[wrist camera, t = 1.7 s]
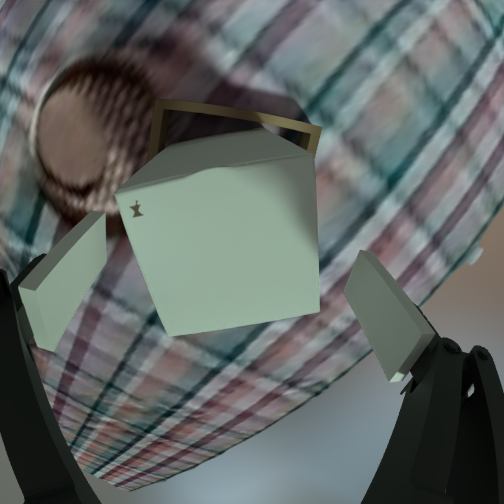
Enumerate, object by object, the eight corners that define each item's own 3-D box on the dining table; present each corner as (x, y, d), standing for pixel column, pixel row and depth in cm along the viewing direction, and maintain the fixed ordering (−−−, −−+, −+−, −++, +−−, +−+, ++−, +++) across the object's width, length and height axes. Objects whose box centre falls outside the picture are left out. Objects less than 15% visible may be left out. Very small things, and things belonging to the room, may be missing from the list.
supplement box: (188, 232, 29) (163, 342, 16) (167, 143, 24) (105, 189, 11) (278, 216, 29) (323, 317, 16) (267, 125, 24) (317, 150, 11)
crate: (148, 236, 28) (141, 250, 26) (163, 99, 22) (155, 98, 20) (279, 254, 31) (284, 269, 28) (312, 124, 25) (322, 127, 22)
